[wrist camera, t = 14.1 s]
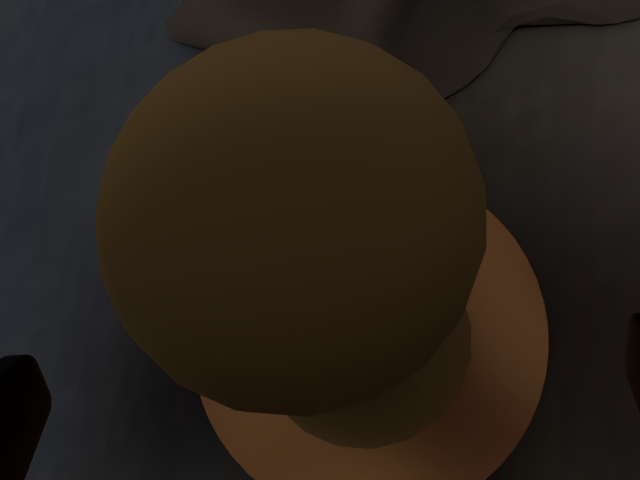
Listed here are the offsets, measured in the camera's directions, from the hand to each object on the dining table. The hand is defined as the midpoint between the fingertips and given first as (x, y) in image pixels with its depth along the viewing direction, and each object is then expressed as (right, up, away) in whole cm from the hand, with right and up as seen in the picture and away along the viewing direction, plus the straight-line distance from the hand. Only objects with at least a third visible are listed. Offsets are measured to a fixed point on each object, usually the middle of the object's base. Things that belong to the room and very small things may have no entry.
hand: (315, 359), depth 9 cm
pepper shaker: (+1, -1, +8) cm, 8 cm away
